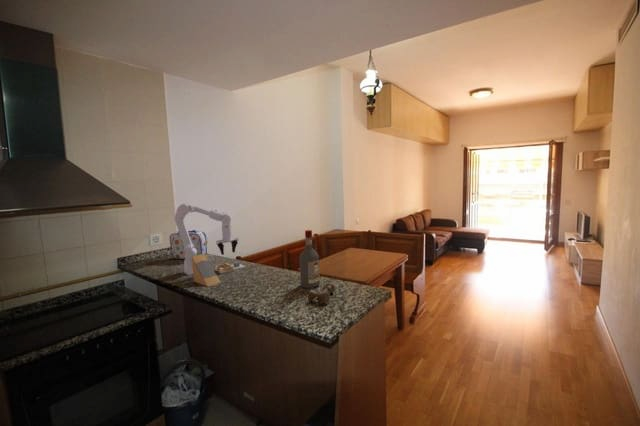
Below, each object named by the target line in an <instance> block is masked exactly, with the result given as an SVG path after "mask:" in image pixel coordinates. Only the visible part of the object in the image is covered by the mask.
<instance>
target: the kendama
mask: <svg viewBox="0 0 640 426" xmlns="http://www.w3.org/2000/svg"><path fill="white" fill-rule="evenodd" d="M334 292H335V285H334V284H333V283H326V285H325V286H323V288H322V291H321V292H316V291H315V290H314V289H309V291H308V293H307V300H308V302H310V303H311V301H312V303H313V302H316V301H320V302H322V303H323V304H324V305H326V304H327V303H328V302H329V303H330V299H331V294H333V293H334ZM329 303H328V304H329ZM328 304H327V305H328Z"/></svg>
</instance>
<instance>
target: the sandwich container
mask: <svg viewBox="0 0 640 426" xmlns="http://www.w3.org/2000/svg"><path fill="white" fill-rule="evenodd" d="M192 265H193V274H192V275H193V277H192V278H193V282H194V283H197V284H199V285H203V286H205V287H212V286H214V285H217V284H220V283H221V280H220V278H219V277H218V275H217V273H216V272H215V269H214V268H213V266H212V265H211V262H210V261H209V259H208V257H207V254H206V255H205V254H201V255H196V256H192Z"/></svg>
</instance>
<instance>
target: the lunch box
mask: <svg viewBox="0 0 640 426" xmlns="http://www.w3.org/2000/svg"><path fill="white" fill-rule="evenodd" d="M188 233H189V236H190V239H191V242H192V244H193V245H194V247H195V248H196V249H197V254H196V255H201V254H205V255H206V256H207V254H208V247H207V246H208V243H209V241H208V238H207V235H206V233H205V232H203V231H200V230H198V231H197V229H193V230H188ZM169 244H170V245H169V246H170V254H171V257H173V259H178V260H185V250H184V245H183V242H182V239H181V236H180V233H179V231H178V230H177V231H176V232H173V233H171V234H170V235H169Z"/></svg>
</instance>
